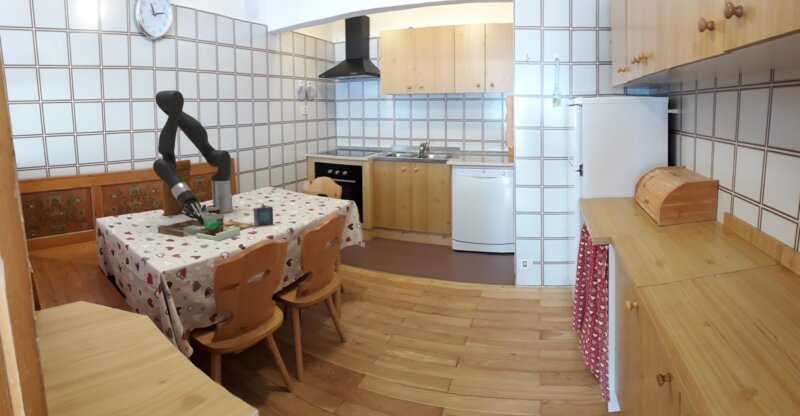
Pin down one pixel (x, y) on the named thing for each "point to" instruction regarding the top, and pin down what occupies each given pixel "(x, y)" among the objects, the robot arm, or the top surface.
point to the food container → (212, 223)
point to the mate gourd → (214, 207)
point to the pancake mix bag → (169, 199)
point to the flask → (263, 215)
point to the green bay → (221, 234)
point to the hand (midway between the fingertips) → (204, 223)
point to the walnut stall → (169, 228)
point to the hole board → (237, 225)
